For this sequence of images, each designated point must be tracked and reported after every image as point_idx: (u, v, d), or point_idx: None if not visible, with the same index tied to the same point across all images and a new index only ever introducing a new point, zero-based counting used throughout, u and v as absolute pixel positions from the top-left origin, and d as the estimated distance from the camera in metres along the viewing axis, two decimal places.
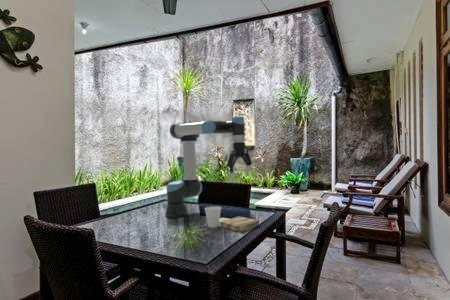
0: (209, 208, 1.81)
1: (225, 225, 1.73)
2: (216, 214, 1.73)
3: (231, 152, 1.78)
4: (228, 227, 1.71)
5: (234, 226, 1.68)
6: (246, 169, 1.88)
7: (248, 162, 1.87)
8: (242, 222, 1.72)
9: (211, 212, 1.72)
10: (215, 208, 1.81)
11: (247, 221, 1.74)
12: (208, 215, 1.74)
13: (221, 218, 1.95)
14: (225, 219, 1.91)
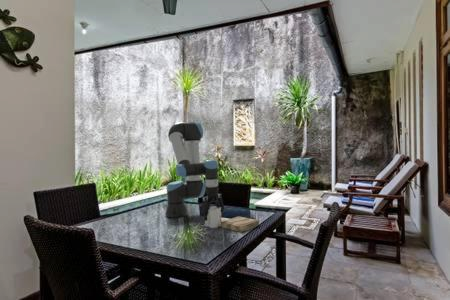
0: (209, 208, 1.81)
1: (225, 225, 1.73)
2: (216, 214, 1.73)
3: (203, 199, 1.72)
4: (228, 227, 1.71)
5: (234, 226, 1.68)
6: None
7: None
8: (242, 222, 1.72)
9: (211, 212, 1.72)
10: (215, 208, 1.81)
11: (247, 221, 1.74)
12: None
13: (221, 218, 1.95)
14: (225, 219, 1.91)
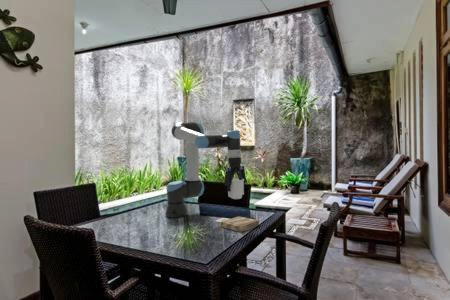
0: (232, 180, 1.79)
1: (225, 225, 1.73)
2: (239, 185, 1.71)
3: (226, 169, 1.70)
4: (228, 227, 1.71)
5: (234, 226, 1.68)
6: None
7: None
8: (242, 222, 1.72)
9: (235, 182, 1.70)
10: (238, 180, 1.79)
11: (247, 221, 1.74)
12: None
13: (221, 218, 1.95)
14: (225, 219, 1.91)
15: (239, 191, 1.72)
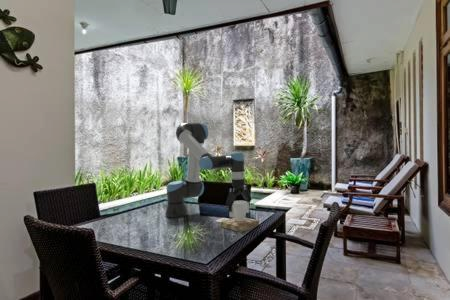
0: (235, 202, 1.80)
1: (225, 225, 1.73)
2: (243, 208, 1.72)
3: (230, 190, 1.70)
4: (228, 227, 1.71)
5: (234, 226, 1.68)
6: None
7: (248, 199, 1.79)
8: (242, 222, 1.72)
9: (238, 205, 1.71)
10: (241, 202, 1.80)
11: (247, 221, 1.74)
12: (235, 209, 1.72)
13: (221, 218, 1.95)
14: (225, 219, 1.91)
15: (242, 214, 1.73)
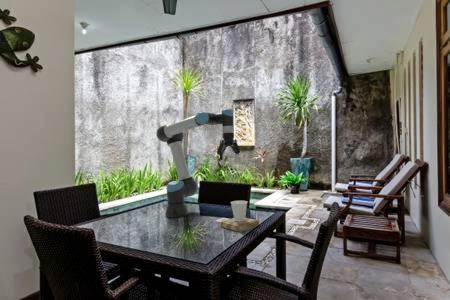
0: (235, 202, 1.79)
1: (225, 225, 1.73)
2: (243, 208, 1.72)
3: (221, 141, 1.97)
4: (228, 227, 1.71)
5: (234, 226, 1.68)
6: (235, 157, 2.06)
7: (237, 151, 2.05)
8: (242, 222, 1.72)
9: (238, 206, 1.71)
10: (241, 202, 1.80)
11: (247, 221, 1.74)
12: (235, 209, 1.72)
13: (221, 218, 1.95)
14: (225, 219, 1.91)
15: (242, 214, 1.73)
